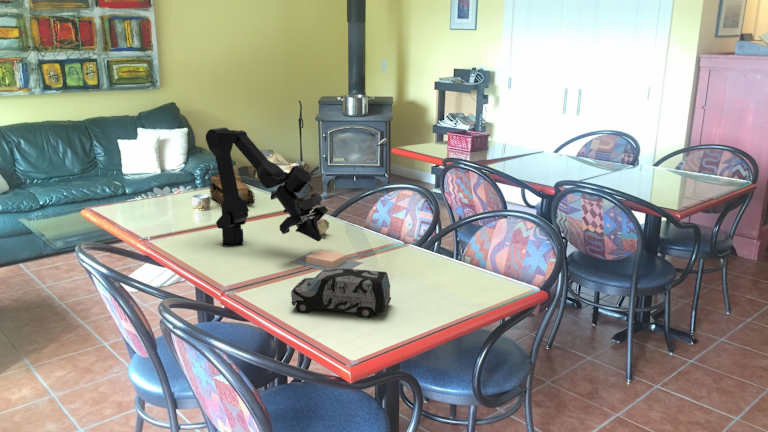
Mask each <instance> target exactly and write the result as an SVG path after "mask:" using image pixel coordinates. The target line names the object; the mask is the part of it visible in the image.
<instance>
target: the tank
mask: <svg viewBox="0 0 768 432" xmlns="http://www.w3.org/2000/svg"><path fill="white" fill-rule="evenodd" d="M233 169H234V174H235V179H236V184H237V189H238V193H239V196H240V197H241V199H242V200H246V201H247V206H251V205H255V203H256V196H255V192H253V190H252V187H250V186H249V185H247V184H246V183H244V182H243V181H242V176H240V175H238V174H236V172H237V171H236V165H233ZM210 182H211V183H210V184H209V192H210V193H209V194H210V196H211V197H210V198H211V199H212V200H216V201H217V202H216V203H218V202H219V204H221V205H222V204H223V201H224V195H223V190H222V186H221V181H220V176H219V174H216V175H213V176H210ZM221 205H220V206H221Z"/></svg>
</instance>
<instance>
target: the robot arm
mask: <svg viewBox="0 0 768 432" xmlns="http://www.w3.org/2000/svg"><path fill="white" fill-rule="evenodd" d="M205 140H206V144H207V147H208V149H209V151H210V152H211V153H212V154H213V156H214V157H215V161H216V165H217V171H218V175H219V176H220V181H221V186H222V190H223V195H224V201H223V204H222V207H221V216H220V217H219V218H218V219H217V220H216V221H215V222H216V223H215V224H216V227H217V228H218V229H221V232H222V234H221V235H222V247H234V246H243V243H244V229H243V228H242V226H243V225H245V224H246V221H247V218H248V217H249V212H250V209H249V207H248V205H247V201H246V200H242V199H241V197H240V196H239V193H238V189H237V184H236V179H235V174H234V169H233V166H234V165H233V161H232V160H233V159H232V156H231V155H232V154H231V153H232V150H233V145H234V146H235V148H237V149H238V150H239V151H240V152H241V153H242V156H244V158H245V159H246V160H247V161H248V162H249V163H250V164H251V166H252V167H253V168H254V169H255V171H256V176H257V179H259V182H260V183H261V185H262V186H263V187H264V188H265V189H273V188H276V187H277V188H276V189H275V190H271V192H270V200H272V201H273V200H275V199H277V200H278V202H279V203H280V204H281V206H282V207H283V208H284V209H283V213H284V214H287V213H288V214H289V216H287V217H286V218H285V219H284V220H283V221H282V222H281V223H280V225H279V231H280V232H281V234H282V235H286V234H288V233H290V229H291V227H294V226H296V229H295V232H296V233H300V234H302V235H304V236H306V237H309V238H311V239H312V240H314V241H316V242H320V241H322V237H321V236H322V235H321V236H320V233H319V230H318V226H317V221H319V220H320V219H321V218H322V219H323V217H324V216H325V215H326V214H327V213H328V212H329V209H328V208H327V207H326V205H322V204H321V202H322V201H323V200H322V199H323V198H322V196H321V195H320V194H319V192H315V193H311V195H310V197H307V198H306V199H305V197H300V196H299V195H298V193H300V192H302V191H303V190H304V189H305V187H306V186H307V185H308V184H309V183H310V181H311V179H312V176H311V174H310V173H309V171H307V170H305V169H304V168H302V167H299V165H293V166H292V167H291V169H290V171H289V172H286V171H284V169H282V168H281V167H280V166H279V165H278V164H276V163H274V162H272V161H270V160H269V159H268V158H267V157H266V156H265V155H264V153H262V151H261V150H260V149H259V148H258V147H257V145H256V144H255V143H254V142H253V141H252V140H251V139H250V137H249V136H248V133H247V132H246V131H244V130H241V129H240V130H237V129H236V130H235V129H233V130H232V129H231V130H230V129H229V128H227V127H224V126H223V127H219V128H218V127H217V128H211V129H209V130H207V132H206V134H205Z"/></svg>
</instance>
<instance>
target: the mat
mask: <svg viewBox="0 0 768 432" xmlns="http://www.w3.org/2000/svg"><path fill="white" fill-rule="evenodd" d="M312 253H314V252H309V253H307V254H304V255H302V256H299V257H298V258H296V259H293V260H291V261H288V263H289V264H293V265H299V266H303V267H306V268H307V267H308V268H312V269H317V270H320V271H322V270H324V269H325V267H320V266H316V265H311V264H307V263H306V256H307V255H310V254H312ZM362 264H363V262H361V261H356V260H352V259H347V262H345V263H343V264H341V265H339V266H337V267H335V268H345V269H354V268H356V267H359V266H360V265H362Z"/></svg>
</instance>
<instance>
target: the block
mask: <svg viewBox="0 0 768 432" xmlns="http://www.w3.org/2000/svg"><path fill="white" fill-rule="evenodd" d="M347 260H348V254H347V253H346V254H345V253H341V252H336V251H331V250H327V249H322V248H321V249H319V250H317V251H315V252H313V253H312V254H310V255H307V256H306V263H307V264H311V265H316V266H320V267H325V268H335V267H337V266H339V265H341V264H343V263H345V262H347Z"/></svg>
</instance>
